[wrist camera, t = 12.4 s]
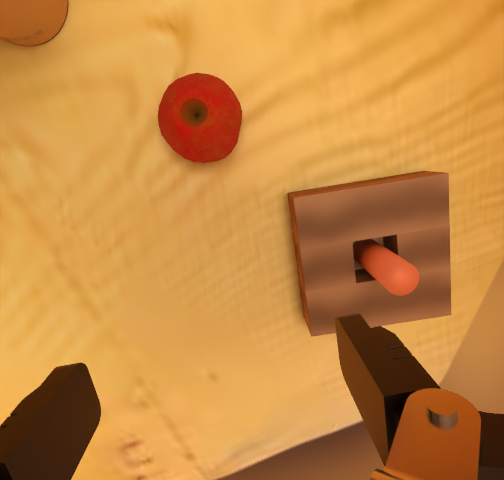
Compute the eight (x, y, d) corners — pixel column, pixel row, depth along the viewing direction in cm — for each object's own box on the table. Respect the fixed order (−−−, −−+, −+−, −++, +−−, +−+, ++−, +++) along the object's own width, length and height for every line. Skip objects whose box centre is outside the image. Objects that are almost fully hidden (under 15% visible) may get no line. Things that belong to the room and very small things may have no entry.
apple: (248, 155, 39) (250, 154, 28) (177, 168, 39) (154, 172, 29) (235, 78, 37) (232, 47, 27) (160, 92, 37) (128, 66, 27)
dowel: (349, 239, 40) (383, 265, 31) (376, 235, 40) (418, 260, 31) (352, 264, 41) (385, 298, 32) (378, 260, 41) (420, 292, 31)
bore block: (287, 193, 40) (293, 198, 35) (423, 171, 40) (448, 173, 35) (303, 316, 44) (311, 336, 39) (428, 297, 44) (451, 314, 39)
